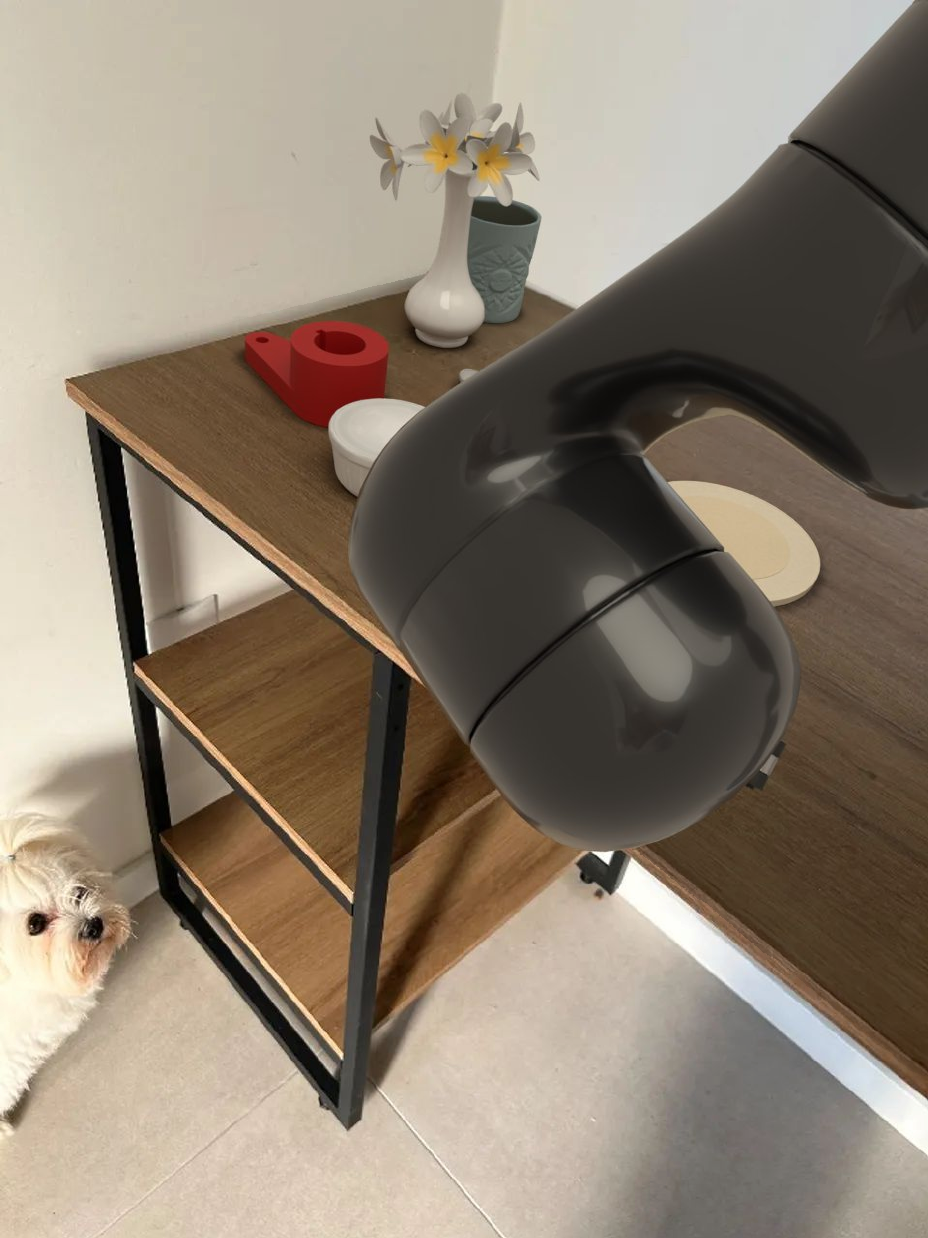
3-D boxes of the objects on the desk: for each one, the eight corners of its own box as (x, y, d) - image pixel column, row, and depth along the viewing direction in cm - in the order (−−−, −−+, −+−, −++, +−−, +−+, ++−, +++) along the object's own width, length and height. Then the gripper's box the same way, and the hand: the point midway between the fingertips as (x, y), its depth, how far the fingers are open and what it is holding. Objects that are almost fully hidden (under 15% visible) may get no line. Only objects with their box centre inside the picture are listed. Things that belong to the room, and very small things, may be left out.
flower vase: (341, 325, 108) (355, 83, 91) (471, 306, 117) (505, 83, 100) (399, 376, 100) (425, 124, 84) (533, 352, 109) (580, 119, 93)
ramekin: (471, 501, 85) (480, 451, 81) (360, 526, 79) (364, 474, 76) (412, 438, 91) (418, 389, 88) (307, 457, 86) (308, 407, 83)
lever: (402, 410, 95) (408, 349, 91) (334, 438, 89) (337, 375, 85) (285, 341, 103) (286, 282, 98) (215, 363, 97) (213, 301, 92)
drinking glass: (499, 333, 112) (516, 232, 104) (428, 305, 115) (440, 205, 107) (537, 309, 119) (556, 212, 111) (470, 283, 122) (483, 188, 114)
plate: (839, 540, 88) (843, 532, 88) (783, 638, 76) (787, 630, 76) (667, 466, 94) (670, 458, 94) (589, 546, 82) (592, 538, 81)
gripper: (844, 680, 34) (807, 713, 51) (535, 530, 38) (593, 606, 55) (748, 860, 34) (742, 835, 51) (448, 689, 38) (533, 718, 55)
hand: (664, 715), depth 53 cm, fingers closed
